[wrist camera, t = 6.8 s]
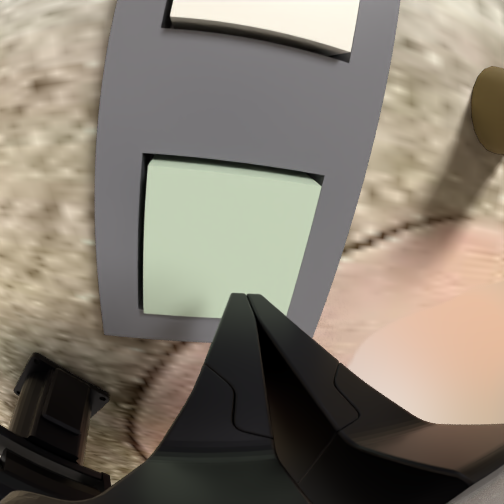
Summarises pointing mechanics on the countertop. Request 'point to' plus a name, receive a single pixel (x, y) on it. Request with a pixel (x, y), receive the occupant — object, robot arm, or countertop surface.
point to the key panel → (230, 140)
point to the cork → (489, 109)
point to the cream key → (274, 21)
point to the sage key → (222, 233)
